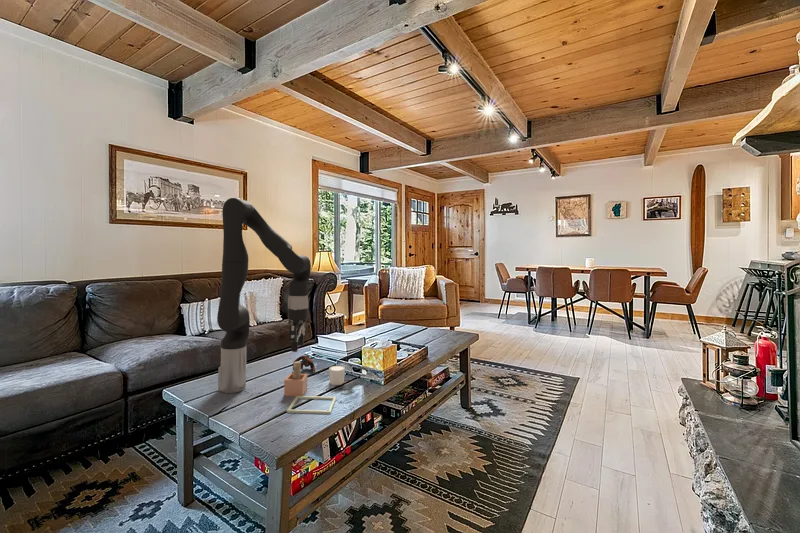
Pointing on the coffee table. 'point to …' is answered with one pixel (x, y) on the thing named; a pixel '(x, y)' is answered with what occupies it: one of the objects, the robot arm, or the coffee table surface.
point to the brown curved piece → (305, 362)
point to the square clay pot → (295, 385)
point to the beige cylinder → (336, 375)
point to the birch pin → (297, 370)
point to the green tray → (311, 410)
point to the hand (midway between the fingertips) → (297, 348)
